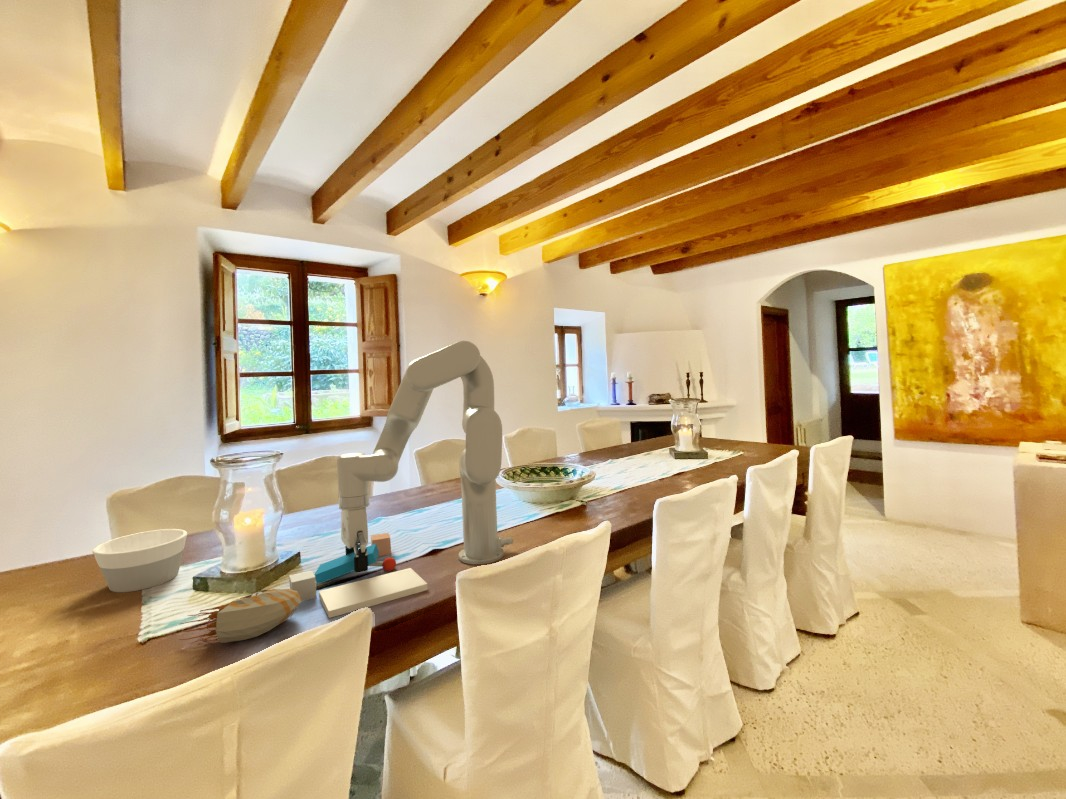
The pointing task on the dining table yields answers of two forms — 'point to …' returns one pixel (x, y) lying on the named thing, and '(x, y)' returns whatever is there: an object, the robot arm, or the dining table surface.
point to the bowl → (141, 559)
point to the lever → (351, 565)
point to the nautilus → (249, 615)
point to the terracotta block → (382, 543)
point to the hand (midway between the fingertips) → (356, 565)
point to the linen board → (371, 591)
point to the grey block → (304, 584)
